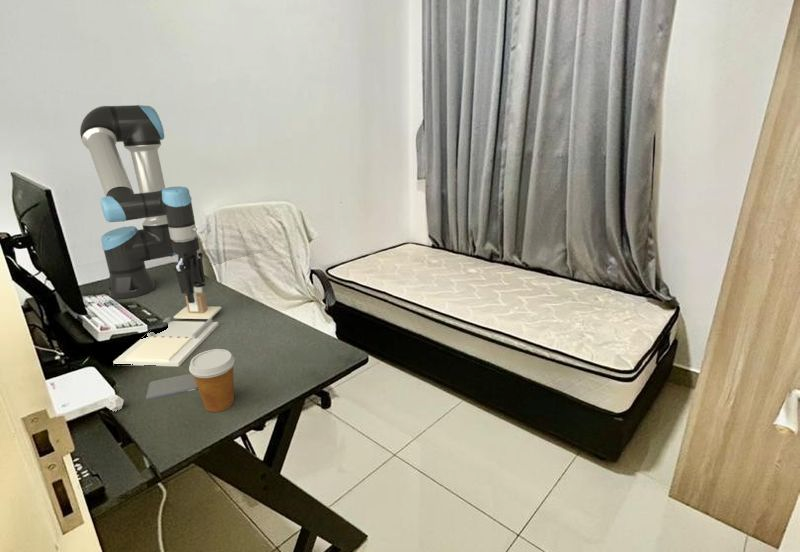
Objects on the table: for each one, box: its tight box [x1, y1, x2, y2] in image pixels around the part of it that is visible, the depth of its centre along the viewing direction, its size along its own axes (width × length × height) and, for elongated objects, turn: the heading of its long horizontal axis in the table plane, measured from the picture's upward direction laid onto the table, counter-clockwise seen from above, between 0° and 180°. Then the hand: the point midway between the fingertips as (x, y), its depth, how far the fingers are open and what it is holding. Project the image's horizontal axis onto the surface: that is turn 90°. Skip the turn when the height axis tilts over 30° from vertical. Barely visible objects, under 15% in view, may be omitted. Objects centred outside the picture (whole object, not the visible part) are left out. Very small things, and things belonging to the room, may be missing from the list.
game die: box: [105, 394, 125, 413], centre depth 104 cm, size 4×4×3 cm
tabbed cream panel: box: [173, 292, 222, 320], centre depth 147 cm, size 8×12×7 cm, turn 86°
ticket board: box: [112, 317, 220, 367], centre depth 132 cm, size 24×18×2 cm
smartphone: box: [145, 372, 198, 400], centre depth 113 cm, size 8×1×15 cm
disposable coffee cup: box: [188, 348, 236, 413], centre depth 104 cm, size 10×10×12 cm
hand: (197, 308), depth 148 cm, fingers open, 3 cm apart
